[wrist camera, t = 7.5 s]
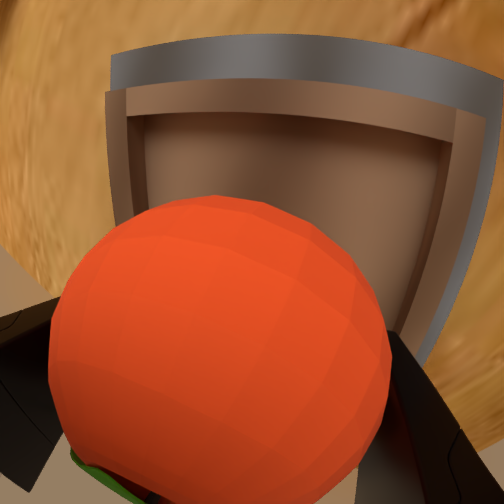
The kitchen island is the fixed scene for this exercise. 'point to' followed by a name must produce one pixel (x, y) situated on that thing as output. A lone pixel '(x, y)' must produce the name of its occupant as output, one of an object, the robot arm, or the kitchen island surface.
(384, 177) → the fruit stand
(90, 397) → the clementine
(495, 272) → the kitchen island surface
